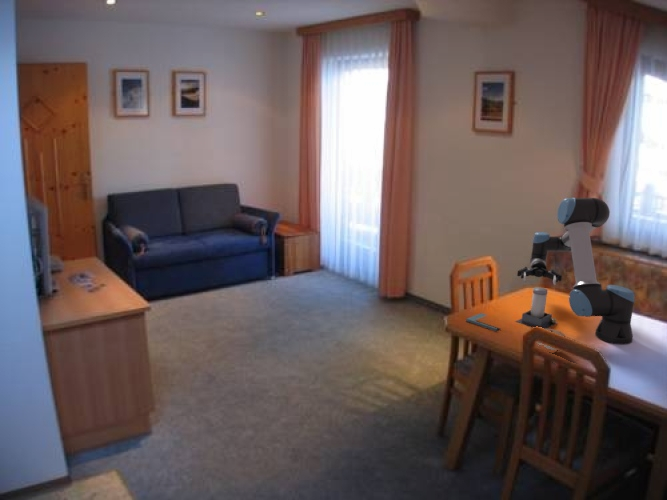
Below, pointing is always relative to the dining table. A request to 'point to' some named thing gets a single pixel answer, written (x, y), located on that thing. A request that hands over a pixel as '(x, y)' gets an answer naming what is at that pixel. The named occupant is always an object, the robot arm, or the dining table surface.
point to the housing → (537, 320)
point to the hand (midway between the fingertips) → (539, 280)
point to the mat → (474, 318)
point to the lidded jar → (554, 332)
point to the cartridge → (538, 302)
